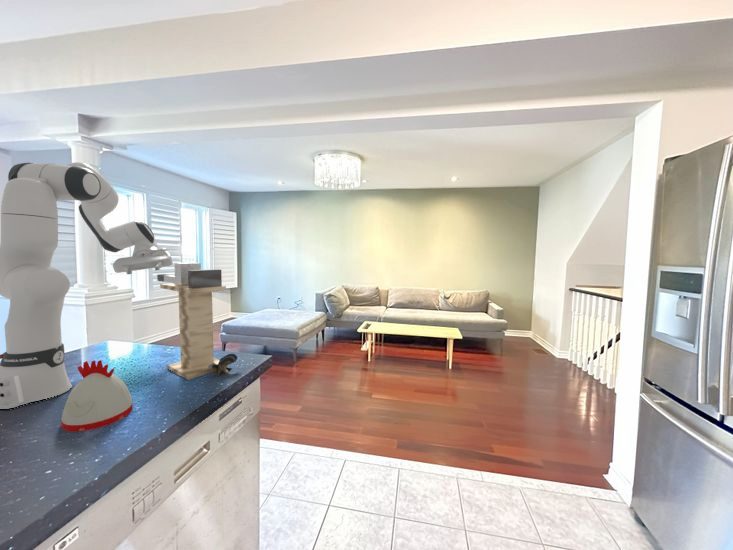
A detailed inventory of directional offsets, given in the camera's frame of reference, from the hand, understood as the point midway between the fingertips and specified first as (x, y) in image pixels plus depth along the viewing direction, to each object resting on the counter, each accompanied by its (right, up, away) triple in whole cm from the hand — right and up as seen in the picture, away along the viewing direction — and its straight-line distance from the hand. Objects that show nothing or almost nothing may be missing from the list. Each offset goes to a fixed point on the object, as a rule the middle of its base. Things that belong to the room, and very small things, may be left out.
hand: (143, 270), depth 121 cm
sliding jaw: (+15, -5, -3) cm, 16 cm away
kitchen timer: (+20, -39, -42) cm, 61 cm away
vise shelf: (+26, -36, -8) cm, 45 cm away
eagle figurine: (+39, -37, -14) cm, 56 cm away
